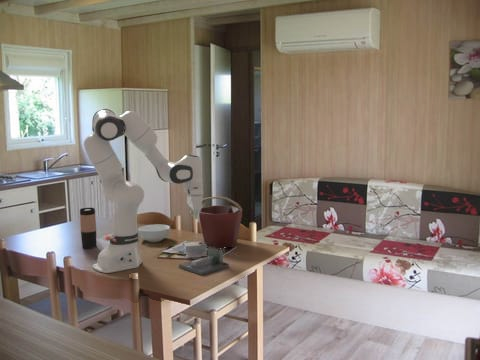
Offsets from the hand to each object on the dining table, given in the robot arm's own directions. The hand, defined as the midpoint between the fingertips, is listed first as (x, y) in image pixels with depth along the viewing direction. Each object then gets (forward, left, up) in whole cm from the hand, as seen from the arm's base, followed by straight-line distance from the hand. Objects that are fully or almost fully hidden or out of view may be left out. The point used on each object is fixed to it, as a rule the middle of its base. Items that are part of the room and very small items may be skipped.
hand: (194, 216), depth 260 cm
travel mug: (-28, +52, -19) cm, 62 cm away
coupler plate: (-9, -17, -19) cm, 27 cm away
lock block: (0, 0, -19) cm, 19 cm away
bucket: (+22, +6, -20) cm, 30 cm away
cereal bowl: (+3, +38, -20) cm, 43 cm away
